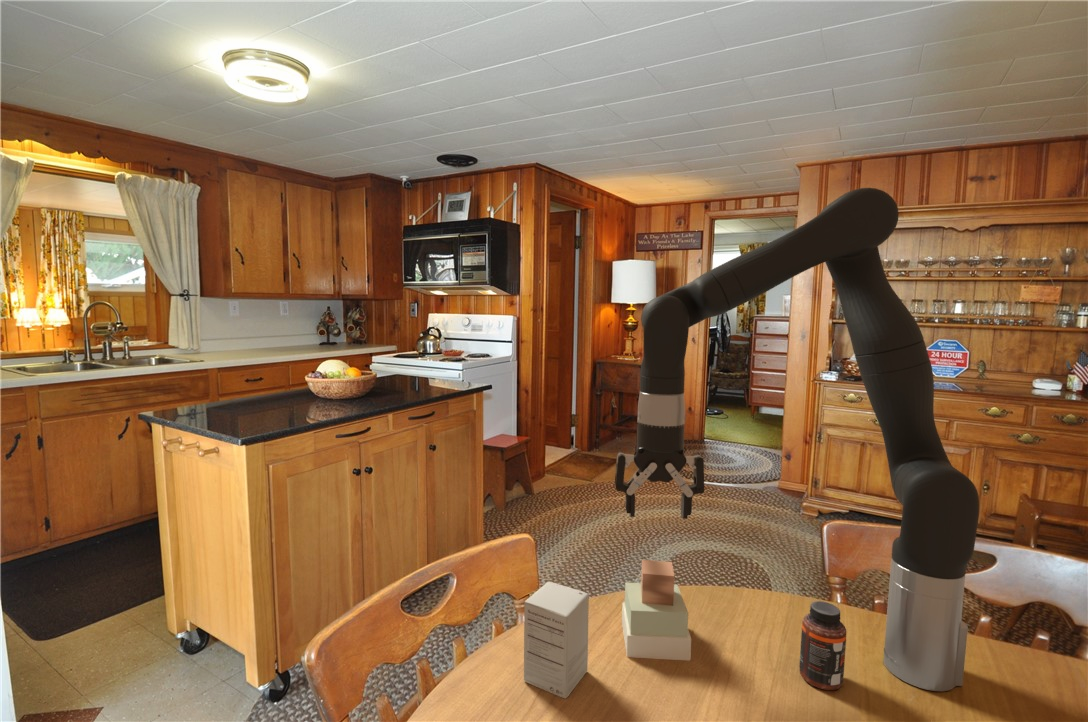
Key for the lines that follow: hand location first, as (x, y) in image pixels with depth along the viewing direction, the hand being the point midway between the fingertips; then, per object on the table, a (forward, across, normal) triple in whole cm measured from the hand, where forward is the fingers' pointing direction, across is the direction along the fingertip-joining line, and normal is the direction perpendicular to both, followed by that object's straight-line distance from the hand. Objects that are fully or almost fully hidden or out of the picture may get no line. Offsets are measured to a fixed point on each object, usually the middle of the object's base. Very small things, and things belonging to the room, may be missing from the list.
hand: (657, 516), depth 89 cm
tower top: (+18, 0, 0) cm, 18 cm away
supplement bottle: (+22, -24, +8) cm, 33 cm away
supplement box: (+22, +16, +11) cm, 29 cm away
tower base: (+22, 0, 0) cm, 22 cm away
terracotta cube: (+14, 0, 0) cm, 14 cm away
